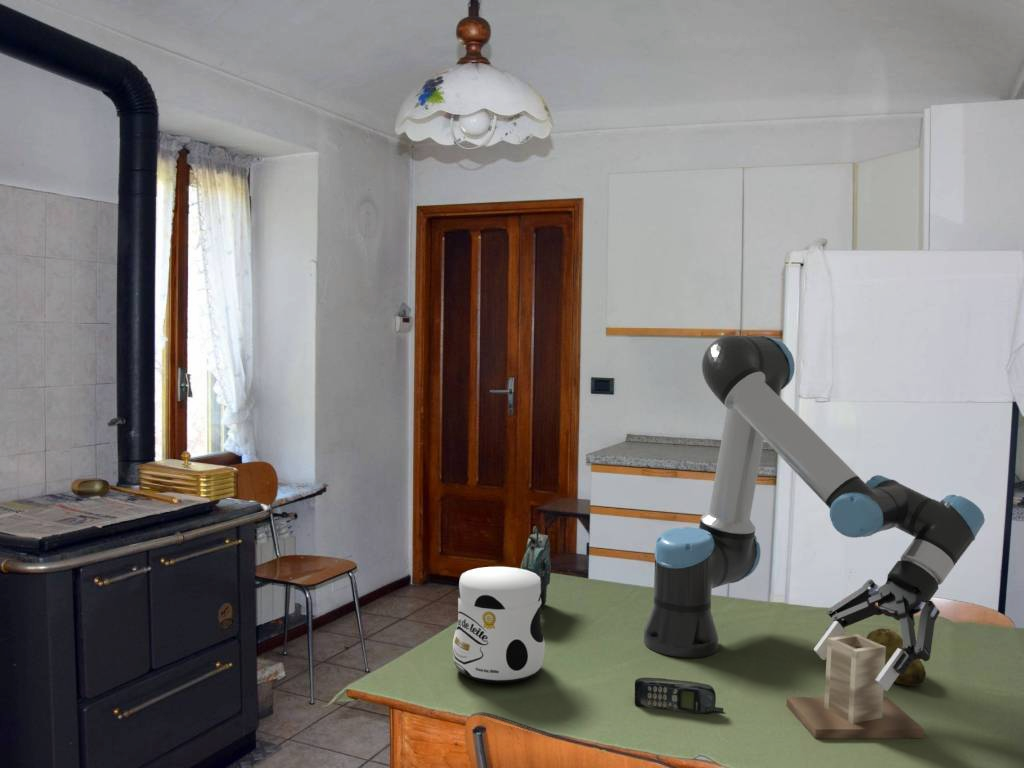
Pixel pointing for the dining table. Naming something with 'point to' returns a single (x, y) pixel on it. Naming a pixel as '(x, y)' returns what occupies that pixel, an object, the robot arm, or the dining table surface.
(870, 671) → the wooden pencil cup
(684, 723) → the dining table surface
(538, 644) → the doce de leite jar
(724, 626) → the dining table surface
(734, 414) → the robot arm
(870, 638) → the potato
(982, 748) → the dining table surface
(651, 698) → the mobile phone
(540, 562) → the green statue
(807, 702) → the flat brown rectangular board
